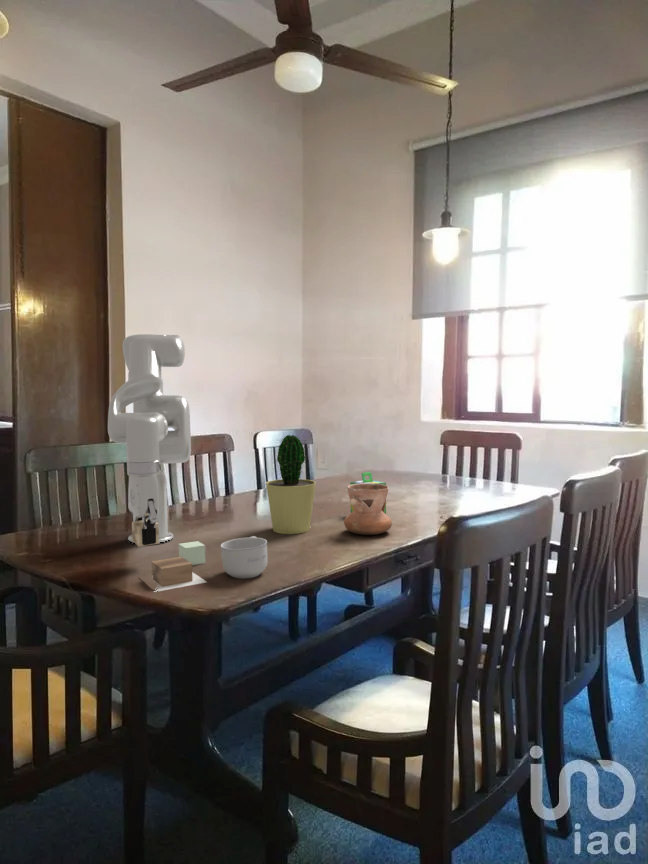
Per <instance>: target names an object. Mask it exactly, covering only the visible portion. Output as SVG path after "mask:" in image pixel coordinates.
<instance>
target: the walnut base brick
mask: <svg viewBox="0 0 648 864" xmlns="http://www.w3.org/2000/svg"><path fill="white" fill-rule="evenodd" d="M192 572H193V565H192V563H190V562H189V561H187V560H186V559H184V558H183V557H179V556H176V557H172V558H165V559H158V560H152V561H151V575H152V579H153V580H155V581H156V582H157V583H158V584H159V585H161V586H162V587H163V586H169V585H174V584H180V583H185V582H190V581H193V580H192Z"/></svg>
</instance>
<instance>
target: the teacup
mask: <svg viewBox="0 0 648 864" xmlns="http://www.w3.org/2000/svg"><path fill="white" fill-rule="evenodd" d="M267 544H268V540H267V539H265V538H262V537H257V536H256V535H255V536H254V535H252V536H249V537H238V538H233V539H230V540H226V541H224V542H222V543H221V544H220V549H221V559H222V566H223V570H224V572H225V573H226V574H227V575H229V576H230V577H232V578H236V579H251V578H256V577H258V576H260V575H261V574H262V573H263V572H264V570H265V569H266V568H267V566H268V545H267Z"/></svg>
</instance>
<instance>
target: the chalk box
mask: <svg viewBox="0 0 648 864" xmlns="http://www.w3.org/2000/svg"><path fill="white" fill-rule="evenodd" d="M366 476H368V477H369V478H368V479H367V478H366ZM361 478H362V480H355V481H351V482H350V483H349V485H352V484H361V483H372V484H375V483H377V484H382V485H386V486H387V483H386V482H384V481H379V480H373V476H372V472H371V471H365V472H362V473H361ZM353 511H354V507H353V505H351V504H350V513H352V512H353ZM384 513H385V514H386V515H387V504H386V505H385V509H384Z"/></svg>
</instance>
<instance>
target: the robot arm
mask: <svg viewBox="0 0 648 864" xmlns="http://www.w3.org/2000/svg"><path fill="white" fill-rule="evenodd" d="M185 349H186V348H185V342H184V339H183V338H182V336H180V335H179V334H145V333H144V334H140V333H139V334H133V335H128V336H126V337H125V338H124V339H123V341H122V353H123V359H124V362H125V365H126V368H127V371H128V380H127V381H126V382H125V383H122V385H121V386H120V387H119V388H118V389H117V390H116V391H115V392H114V394H113V395H112V397H111V399H110V403H109V406H108V412H107V433H108V436H109V437H108V438H110V440H111V441H112V442H114V443H117V444H125V445H126V446H125V447H126V471H127V472H126V473H127V476H128V487H127V488H128V491H127V492H128V493H127V495H128V496H127V497H128V498H127V499H128V501H127V504H128V510H129V512H130V513H132V516H133V517H132V519H133V521H140V520H143V529H142V544H143V545H147V546H150V545H149V544H153V545H156V544H155V543H156V522H157V523H158V524H159V544H161V543H160V542H164V543H166V542H165V541H167V542H169V541H168V540H170V541H172V540H173V539H174V533H172V532H170V531H168V493H167V492H168V491H167V486H168V484H167V483H168V482H167V478H166V475H165V474H164V473H163V470H161V468H160V466H161V465H162V464H163V465H164V464H165V465H166V464H182V463H186V462H188V461H189V460H190V458H191V455H192V440H191V439H192V437H191V415H190V414H191V413H190V412H191V411H190V406H189V402H188V400H187V399H186V398H185V397H184V396H182V395H172V394H169V395H168V394H167V395H166V394H165V395H164V381H163V378H162V368H179V367H181V366H183V363H184V361H185ZM132 404H133V407H132V408H133V412H122V411H123V410H124V409H125V408H126V407H127V406H129V405H132ZM169 428H171V429H173V430H169ZM147 519H148V520H147ZM146 520H147V522H146ZM133 521H132V522H133ZM127 538H128V539H127V541H128V540H129V541H131V542H132V534H131V535H129V536H128V537H127ZM172 538H173V539H172ZM171 539H172V540H171ZM129 541H128V542H129Z"/></svg>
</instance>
